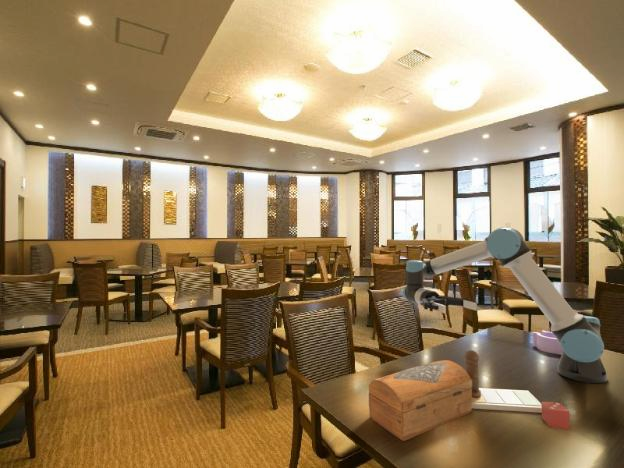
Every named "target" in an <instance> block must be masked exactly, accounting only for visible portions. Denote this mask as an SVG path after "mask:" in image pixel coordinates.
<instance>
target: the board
mask: <svg viewBox="0 0 624 468" xmlns="http://www.w3.org/2000/svg"><path fill="white" fill-rule="evenodd" d="M479 390H480V391H481V397H479V398H472V409H478V410H479V409H481V410H493V411H509V412H511V411H512V412H525V413H527V412H528V413H541V414H542V402H540V401H539V400H538V398H536V397H535V396H534V395H533V394H532V393H531V392H530V391H529V390H524V389H523V390H522V389H505V388H504V389H503V388H487V387H486V388H484V387H479Z"/></svg>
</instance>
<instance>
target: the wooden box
mask: <svg viewBox="0 0 624 468" xmlns="http://www.w3.org/2000/svg"><path fill="white" fill-rule="evenodd" d="M472 388H473V382H472V379H471V378H470V376H469V375H468V373H467V372H466V369H465V368H464V367H463V366H461V364H459V363H456V362H455V361H452V360H448V359H446V360H445V359H443V360H437V361H432V362H428V363H426V364H422V365H417V366H414V367H409V368H407V369H404V370H401V371H399V372H394V373H392V374H388V375H385V376H382V377H378V378H375V379H373V380H371V381H370V382H369V384H368V409H369V418H370V419H371V420H372V421H374V422H375V423H377V424H378V425H379V426H381V427H382V428H384V429H385V431H388V432H389V433H391V434H392V435H393V436H395V437H397V439H400V440H401V441H403V442H405V441H408V440H411V439H412V438H415V437H417V436H420V435H421V434H424V433H426V432H428V431H430V430H432V429H435V428H437V427H441V426H442V425H445V424H446V423H449V422H451V421H454V420H456V419H458V418H461V417H463V416H465V415H468V414H470V413H472V410H473V408H472Z"/></svg>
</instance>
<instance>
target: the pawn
mask: <svg viewBox="0 0 624 468" xmlns="http://www.w3.org/2000/svg"><path fill="white" fill-rule="evenodd" d="M479 356H480V355H479V354H478V353H477V352H476V351H475V350H467V351H466V352H465V354H464V359H465V371H466V372H467V373H468V375H469V376H470V378H471V379H472V382H473V388H472V398H479V397H481V391H480V390H479V388H480V387H479V384H480V383H479V361H480V357H479Z"/></svg>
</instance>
